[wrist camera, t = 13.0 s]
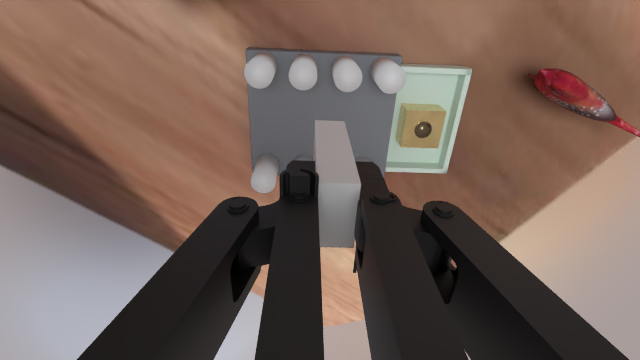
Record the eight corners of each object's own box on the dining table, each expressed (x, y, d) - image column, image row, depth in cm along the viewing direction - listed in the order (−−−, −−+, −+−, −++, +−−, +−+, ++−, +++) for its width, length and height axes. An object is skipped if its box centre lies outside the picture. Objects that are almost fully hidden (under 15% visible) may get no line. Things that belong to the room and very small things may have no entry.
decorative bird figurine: (508, 45, 38) (566, 59, 30) (616, 112, 43) (695, 141, 34) (491, 69, 40) (543, 89, 31) (597, 131, 44) (670, 165, 35)
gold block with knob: (395, 138, 43) (400, 147, 41) (401, 103, 41) (407, 110, 38) (430, 140, 43) (438, 148, 41) (438, 104, 41) (447, 111, 39)
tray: (382, 164, 45) (385, 171, 43) (396, 63, 39) (401, 66, 37) (440, 165, 46) (446, 173, 44) (464, 65, 39) (472, 69, 38)
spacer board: (254, 166, 45) (245, 193, 39) (248, 47, 38) (236, 56, 32) (381, 170, 46) (391, 197, 40) (398, 53, 39) (414, 64, 32)
